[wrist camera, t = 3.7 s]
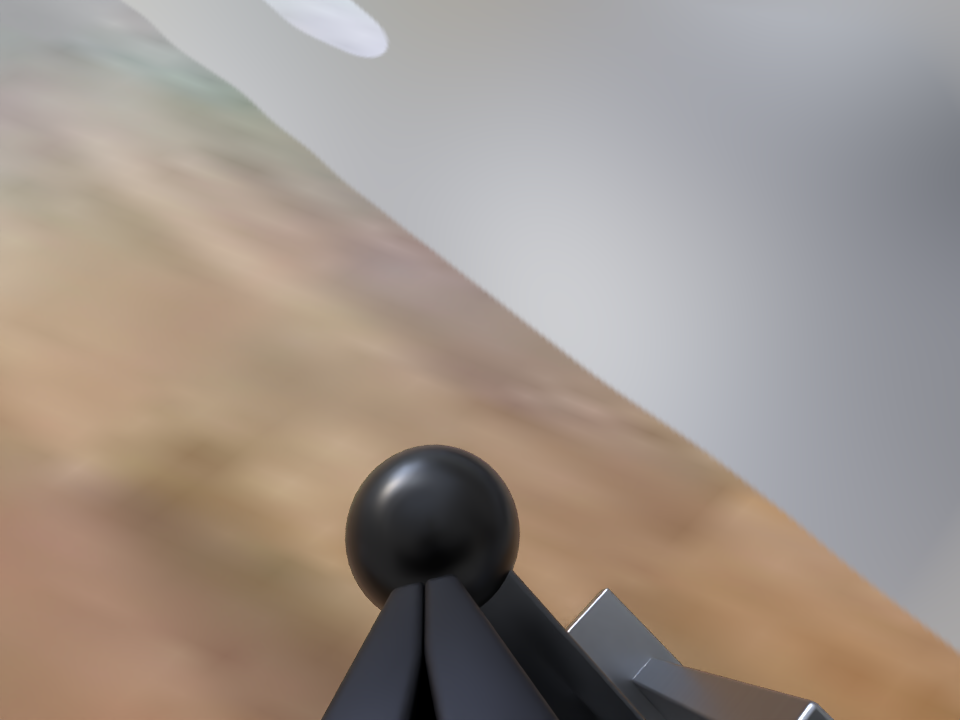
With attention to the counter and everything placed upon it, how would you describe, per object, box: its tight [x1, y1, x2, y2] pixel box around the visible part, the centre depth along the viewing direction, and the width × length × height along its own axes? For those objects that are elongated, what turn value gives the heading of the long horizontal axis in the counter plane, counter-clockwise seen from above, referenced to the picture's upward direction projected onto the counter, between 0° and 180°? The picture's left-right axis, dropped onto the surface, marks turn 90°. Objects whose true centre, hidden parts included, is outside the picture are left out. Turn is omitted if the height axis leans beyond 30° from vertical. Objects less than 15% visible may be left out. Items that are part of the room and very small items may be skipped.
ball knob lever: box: [345, 445, 646, 720], centre depth 9 cm, size 11×3×3 cm, turn 43°
